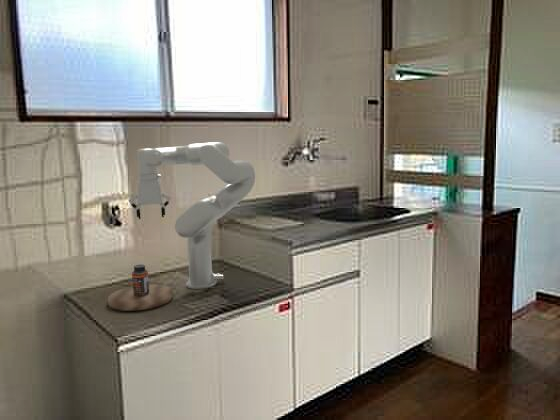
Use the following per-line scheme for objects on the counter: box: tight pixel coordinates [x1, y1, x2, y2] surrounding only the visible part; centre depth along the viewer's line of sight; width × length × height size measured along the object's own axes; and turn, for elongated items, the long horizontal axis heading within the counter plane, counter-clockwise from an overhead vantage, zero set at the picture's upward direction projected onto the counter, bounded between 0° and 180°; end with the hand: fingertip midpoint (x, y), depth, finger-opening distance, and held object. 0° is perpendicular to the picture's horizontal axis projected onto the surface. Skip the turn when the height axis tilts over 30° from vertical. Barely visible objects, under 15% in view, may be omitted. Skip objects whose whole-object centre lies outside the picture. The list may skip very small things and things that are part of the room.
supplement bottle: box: [131, 264, 150, 296], centre depth 179 cm, size 6×6×11 cm
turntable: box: [107, 283, 174, 312], centre depth 179 cm, size 24×24×6 cm
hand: (151, 217), depth 200 cm, fingers open, 9 cm apart
